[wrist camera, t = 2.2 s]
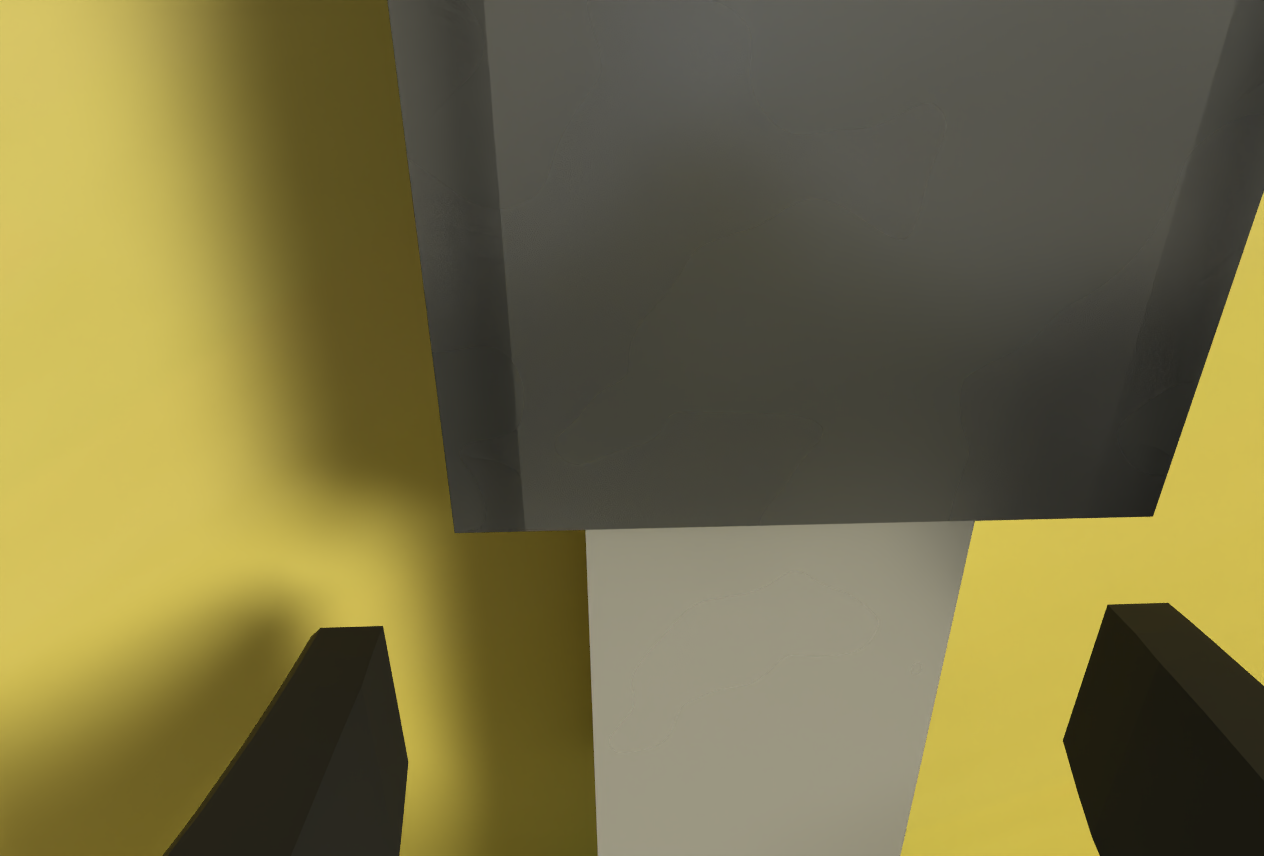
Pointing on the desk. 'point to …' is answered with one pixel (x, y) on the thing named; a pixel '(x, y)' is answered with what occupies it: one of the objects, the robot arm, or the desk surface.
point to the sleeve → (823, 252)
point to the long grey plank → (765, 683)
